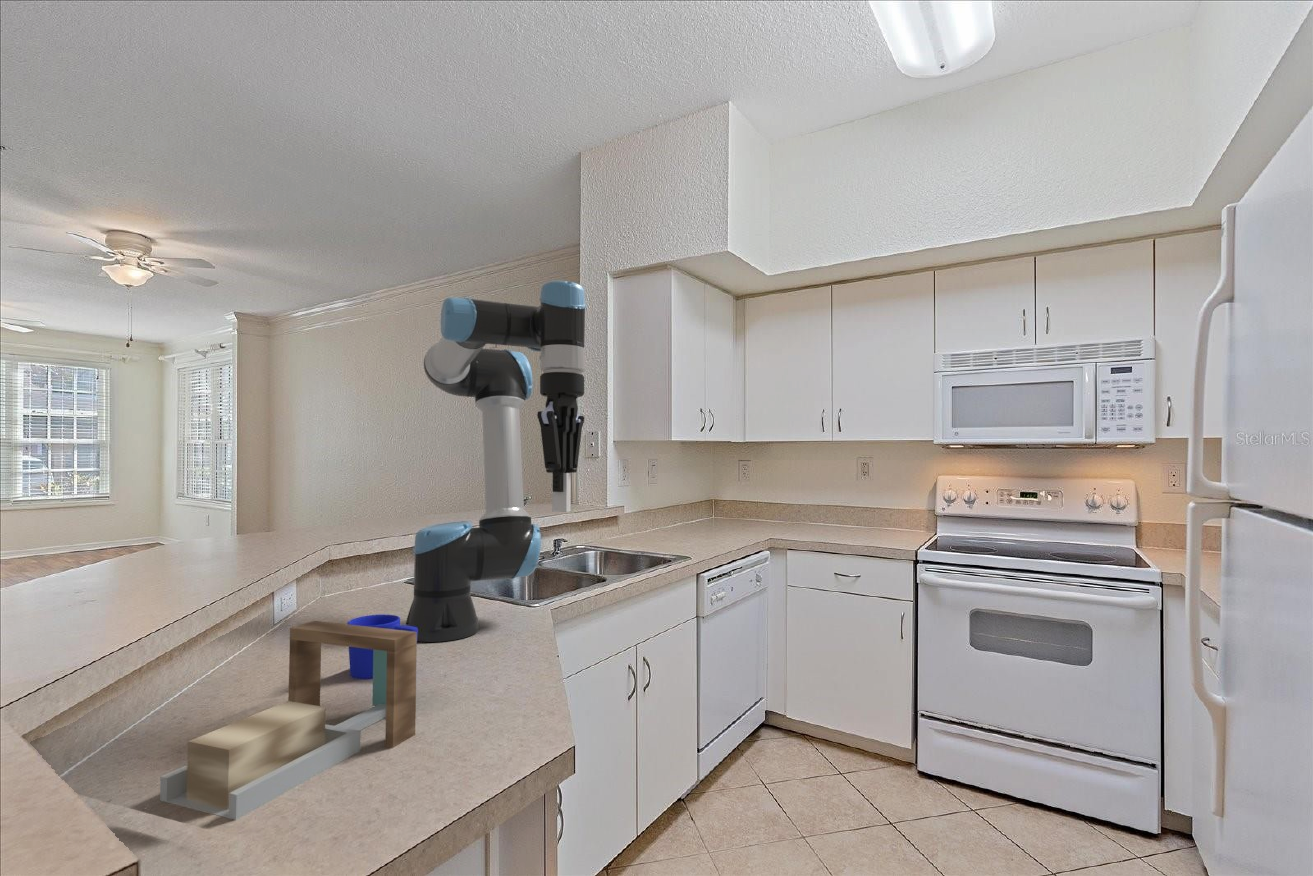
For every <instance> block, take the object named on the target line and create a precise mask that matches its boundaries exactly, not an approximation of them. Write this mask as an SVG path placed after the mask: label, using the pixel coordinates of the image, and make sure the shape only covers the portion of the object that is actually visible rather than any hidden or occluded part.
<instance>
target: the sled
mask: <svg viewBox="0 0 1313 876" xmlns="http://www.w3.org/2000/svg"><path fill="white" fill-rule="evenodd" d="M386 678H387V651H381V650H373V679H372V696H371V697H372V701H371V702H372V705H371V706H372V707H371V708H369V709H367V710H364V711H362V712H360V713H358V714H356V715H354V716H352V717H350V718H348V719H346V720H344V721H342V722H339V723H337V724H336V725H332V724H327V723H325V745H323V746H321V747H319V748H317V749H315V750H313V751H311V752H309V753H307V754H305V755H303V756H301V757H299V758H297V759H295V760H293V761H291V762H290V763H288V764H286V765H284V766H282V767H280V768H278V769H276V770H274V771H272V772H270V773H268V774H266V775H264V776H262V777H260V778H258V779H256V780H254V781H252V782H250V783H248V784H246V785H244V786H242V787H240V788H239V789H237V790H235V791H233V792H231V793H229V809H228V810H226V809H222V808H218V807H215V806H211V805H207V804H203V803H199V802H195V801H191V800H187V799H186V797H187V765H184V766H182V767H180V768H177V769H175V770H172V771H171V772H170V771H169V772H168V773H166V774H164V775H161V776H160V784H159V785H160V787H159V788H160V789H159V790H160V791H159V793H160V794H159V801H161V802H165V803H169V804H173V805H176V806H181V807H184V808H187V809H191V810H194V811H195V810H196V811H199V812H204V813H206V814H210V815H214V816H215V815H216V816H218V817H223V818H227V819H230V820H234V821H238V820H239V819H240V818H243V817H244V816H246V815H249V813H252V812H253V811H256V810H257V809H259V808H260V807H262V806H265V805H266V804H267V803H270V802H271V801H272V800H275V799H276V798H278V797H280V796H282V795H284V794H286V793H288V792H289V791H291V790H292V789H294V788H297V787H298V786H300V785H302V784H303V783H306V782H307V781H309V780H311V779H313V778H314V777H316V776H318V775H320V774H323V772H325V771H327V770H328V769H330V768H332V767H334V766H336V765H338V764H339V763H341V762H342V761H345V760H347V759H348V758H350V757H352V756H354V755H356V754H357V753H360V752H361V742H362V741H361V737H362V736H361V735H362V732H361V731H362V730H363V729H366V728H368V727H370V726H371V725H373V724H375V723H377V722H379V721H381V720H383V719H386Z"/></svg>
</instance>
